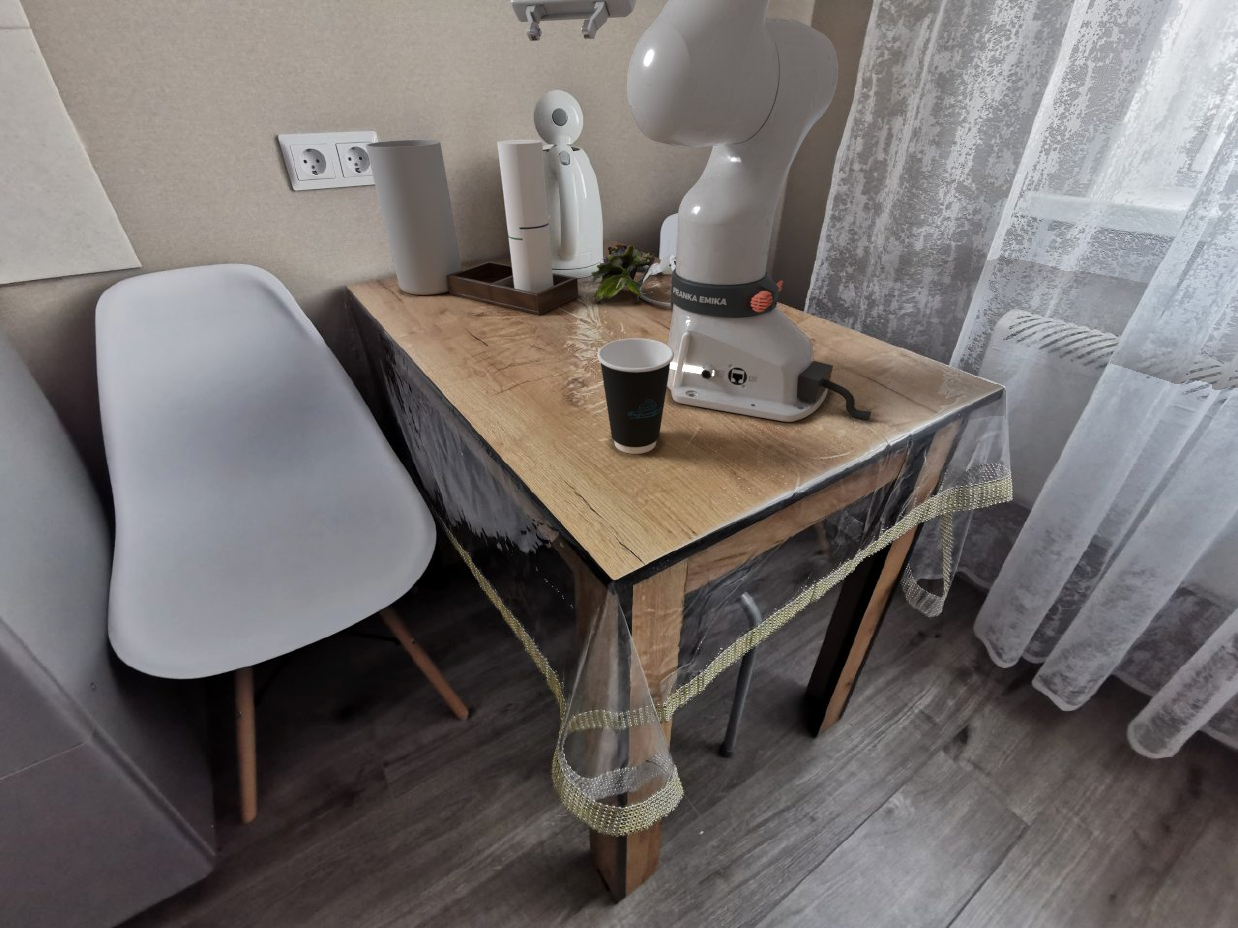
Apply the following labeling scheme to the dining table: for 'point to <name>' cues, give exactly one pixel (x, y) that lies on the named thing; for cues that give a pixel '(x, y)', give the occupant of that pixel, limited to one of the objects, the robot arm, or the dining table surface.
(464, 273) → the tray
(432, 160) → the cylinder vase
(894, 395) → the dining table surface
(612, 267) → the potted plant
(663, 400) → the dixie cup
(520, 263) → the cylindrical container
